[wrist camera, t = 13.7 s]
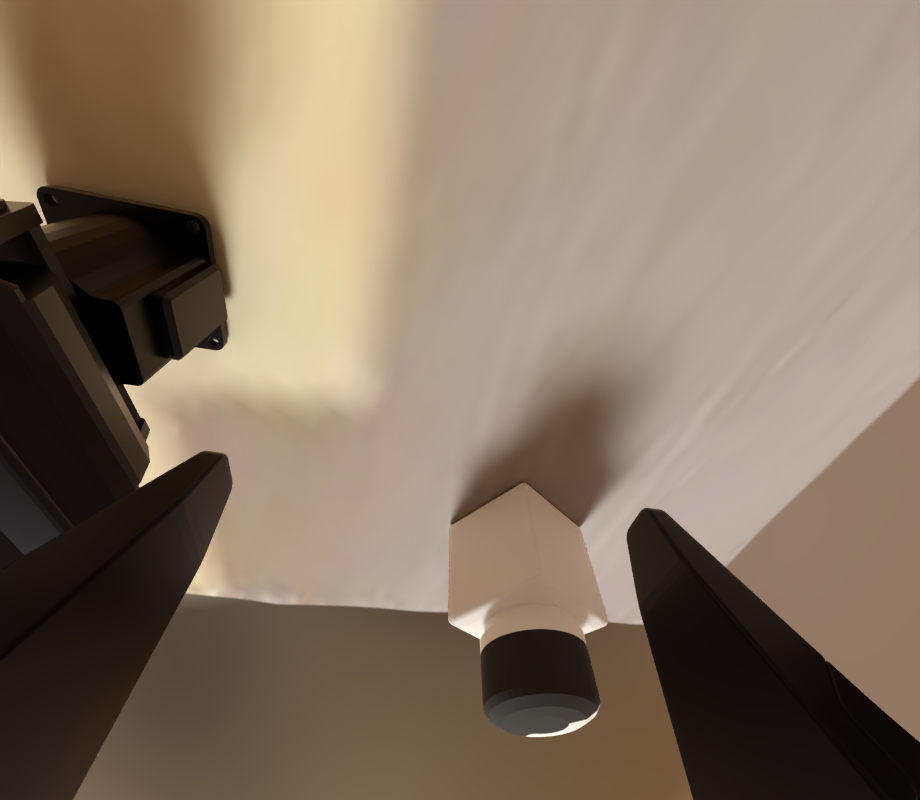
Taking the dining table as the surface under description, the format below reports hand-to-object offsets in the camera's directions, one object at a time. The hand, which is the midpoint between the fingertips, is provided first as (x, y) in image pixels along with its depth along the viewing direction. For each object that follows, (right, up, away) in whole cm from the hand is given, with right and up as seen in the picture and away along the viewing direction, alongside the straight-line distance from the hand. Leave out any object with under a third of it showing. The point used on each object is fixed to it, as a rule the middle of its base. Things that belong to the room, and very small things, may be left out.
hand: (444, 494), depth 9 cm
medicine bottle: (+4, -7, +21) cm, 23 cm away
